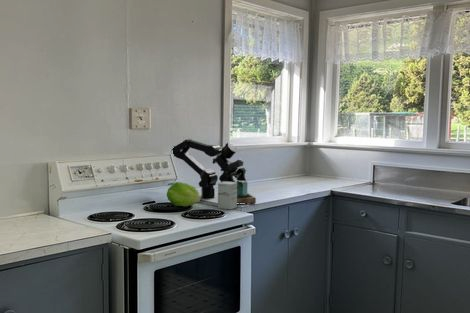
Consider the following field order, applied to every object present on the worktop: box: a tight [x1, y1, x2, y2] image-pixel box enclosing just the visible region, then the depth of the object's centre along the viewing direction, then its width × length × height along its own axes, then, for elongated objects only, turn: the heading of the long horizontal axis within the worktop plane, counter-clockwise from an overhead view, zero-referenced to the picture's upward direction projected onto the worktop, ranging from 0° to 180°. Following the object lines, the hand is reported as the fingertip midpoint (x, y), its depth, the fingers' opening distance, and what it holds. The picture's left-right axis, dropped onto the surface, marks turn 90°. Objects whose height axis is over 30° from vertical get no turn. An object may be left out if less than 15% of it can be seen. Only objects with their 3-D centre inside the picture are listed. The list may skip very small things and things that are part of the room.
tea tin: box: [235, 180, 248, 198], centre depth 245 cm, size 4×4×10 cm
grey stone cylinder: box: [217, 181, 238, 210], centre depth 231 cm, size 7×7×13 cm
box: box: [237, 192, 257, 204], centre depth 246 cm, size 13×13×3 cm
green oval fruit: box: [166, 181, 202, 207], centre depth 232 cm, size 14×20×12 cm
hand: (242, 186), depth 244 cm, fingers open, 9 cm apart
